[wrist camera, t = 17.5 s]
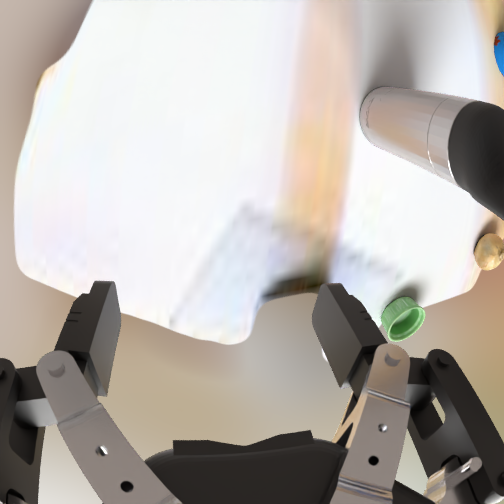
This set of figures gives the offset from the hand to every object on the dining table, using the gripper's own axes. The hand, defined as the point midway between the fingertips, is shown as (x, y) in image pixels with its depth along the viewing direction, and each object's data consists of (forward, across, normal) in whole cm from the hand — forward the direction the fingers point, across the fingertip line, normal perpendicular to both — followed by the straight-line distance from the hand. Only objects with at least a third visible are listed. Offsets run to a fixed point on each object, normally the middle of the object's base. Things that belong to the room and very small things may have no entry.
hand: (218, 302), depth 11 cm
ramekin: (+28, -39, +27) cm, 55 cm away
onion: (+28, -58, +11) cm, 66 cm away
